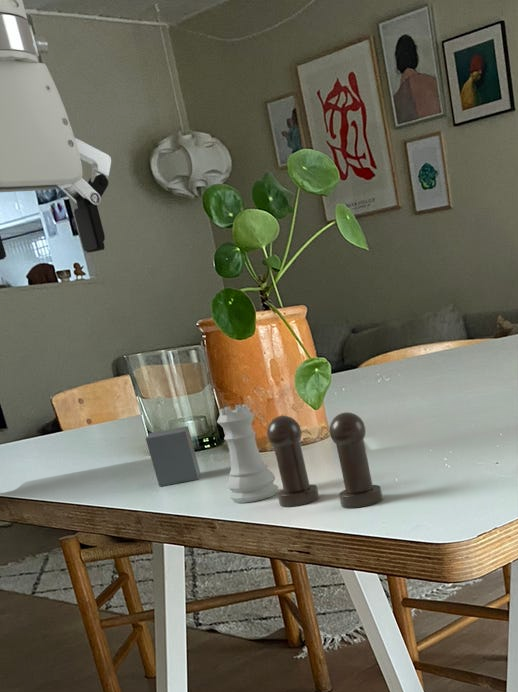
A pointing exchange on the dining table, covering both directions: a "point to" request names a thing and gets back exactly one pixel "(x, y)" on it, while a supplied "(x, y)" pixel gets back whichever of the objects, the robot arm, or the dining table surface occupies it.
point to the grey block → (173, 456)
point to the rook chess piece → (245, 457)
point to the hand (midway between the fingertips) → (47, 255)
